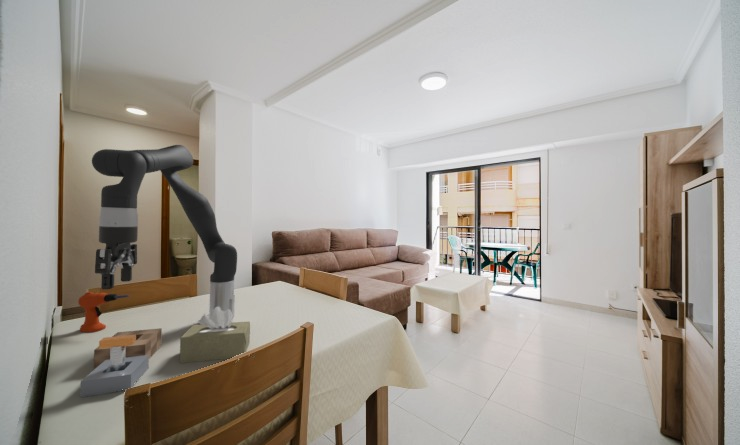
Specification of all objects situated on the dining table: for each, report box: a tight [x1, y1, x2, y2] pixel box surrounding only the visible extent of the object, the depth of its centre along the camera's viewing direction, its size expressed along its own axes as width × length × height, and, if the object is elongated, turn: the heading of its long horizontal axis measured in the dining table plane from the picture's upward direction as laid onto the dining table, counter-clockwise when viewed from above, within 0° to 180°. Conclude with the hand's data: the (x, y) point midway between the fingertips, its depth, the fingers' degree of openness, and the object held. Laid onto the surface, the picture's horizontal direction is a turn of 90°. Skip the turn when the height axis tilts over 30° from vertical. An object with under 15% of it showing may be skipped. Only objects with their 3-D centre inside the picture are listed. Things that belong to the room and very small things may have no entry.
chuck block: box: [93, 327, 163, 370], centre depth 83 cm, size 12×12×6 cm
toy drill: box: [77, 291, 130, 333], centre depth 101 cm, size 5×19×15 cm, turn 91°
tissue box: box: [179, 307, 251, 364], centre depth 88 cm, size 19×10×16 cm, turn 105°
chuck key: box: [98, 335, 136, 372], centre depth 71 cm, size 7×3×12 cm, turn 110°
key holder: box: [79, 355, 150, 398], centre depth 71 cm, size 10×10×4 cm
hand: (117, 284), depth 71 cm, fingers open, 8 cm apart
